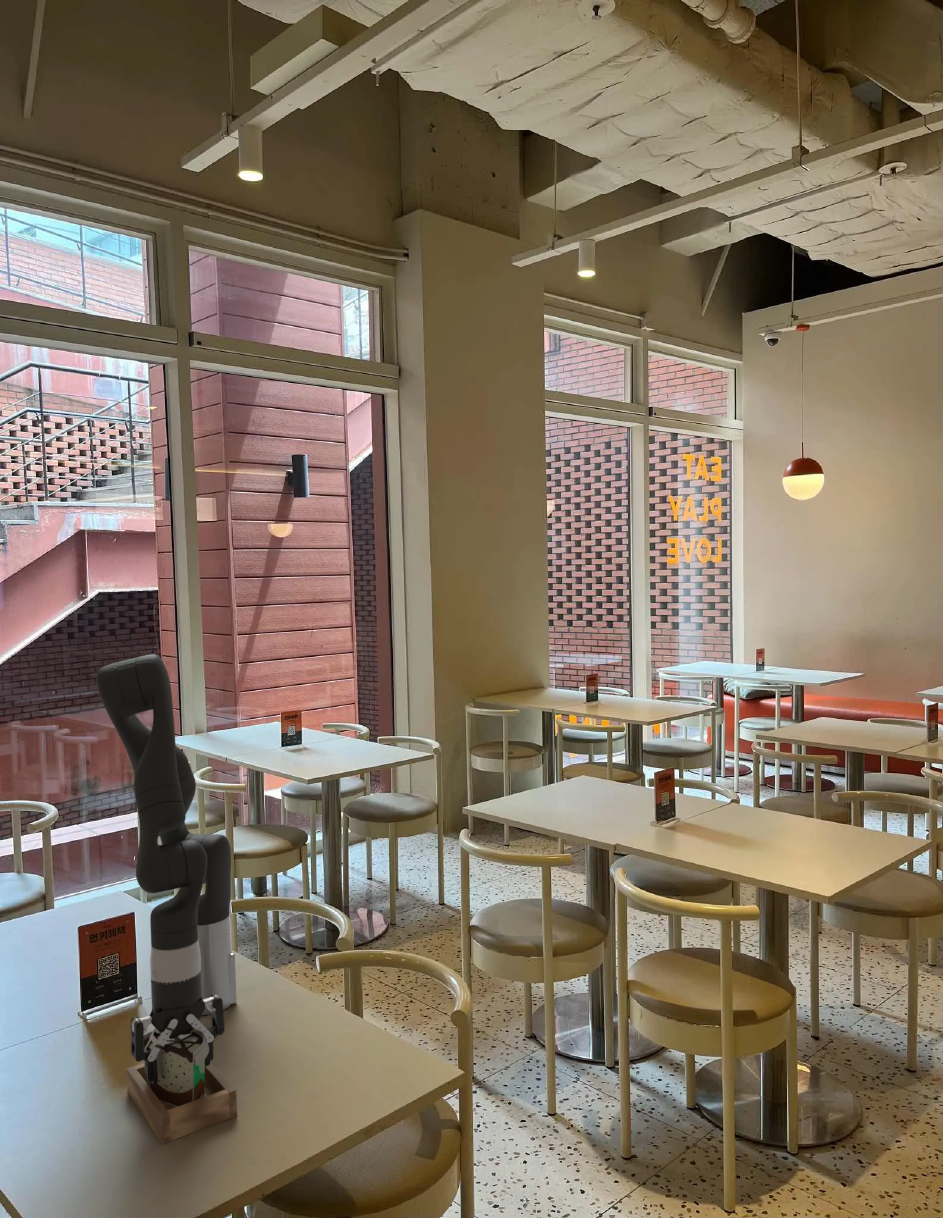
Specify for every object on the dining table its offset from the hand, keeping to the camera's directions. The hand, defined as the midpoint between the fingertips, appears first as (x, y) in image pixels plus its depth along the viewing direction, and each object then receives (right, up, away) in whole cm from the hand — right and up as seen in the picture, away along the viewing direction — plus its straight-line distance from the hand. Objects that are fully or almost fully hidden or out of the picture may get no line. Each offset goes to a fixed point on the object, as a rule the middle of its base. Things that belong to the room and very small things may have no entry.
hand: (180, 1072), depth 145 cm
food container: (+1, -4, +1) cm, 4 cm away
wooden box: (0, -5, 0) cm, 5 cm away
